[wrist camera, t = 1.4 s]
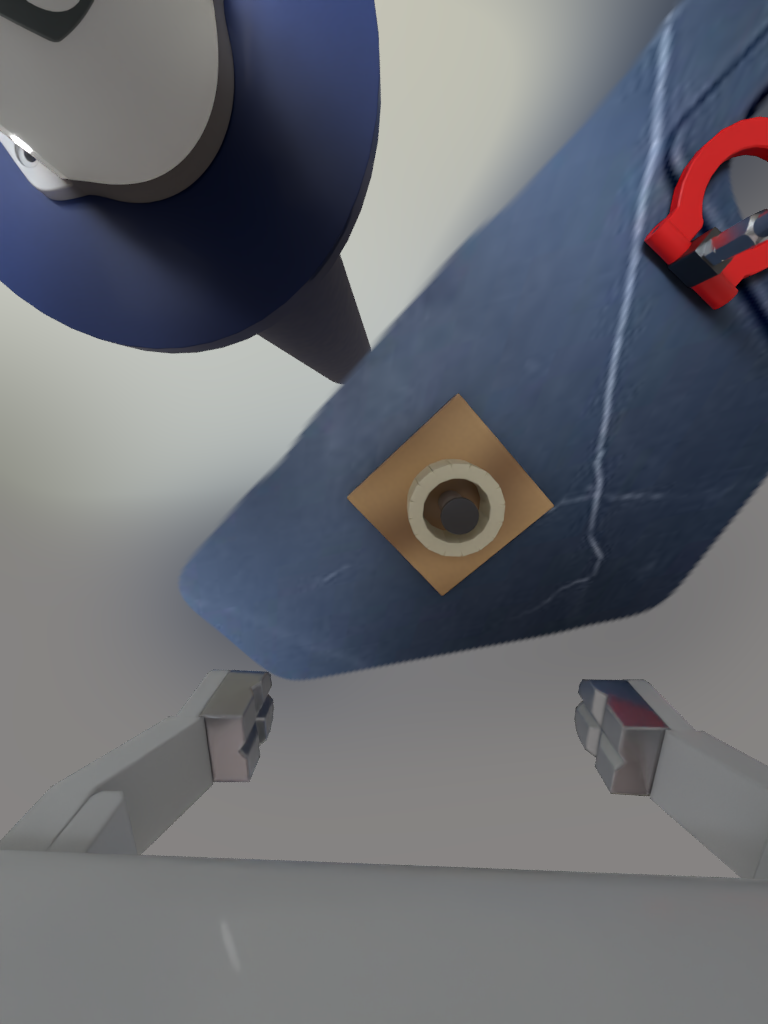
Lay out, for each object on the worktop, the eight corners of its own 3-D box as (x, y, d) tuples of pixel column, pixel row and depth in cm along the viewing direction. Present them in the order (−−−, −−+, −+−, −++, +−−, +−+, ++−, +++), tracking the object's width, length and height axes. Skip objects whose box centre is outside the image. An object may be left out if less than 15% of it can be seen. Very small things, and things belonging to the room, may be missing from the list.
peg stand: (347, 495, 28) (337, 512, 23) (456, 393, 26) (471, 387, 21) (440, 591, 30) (450, 626, 25) (549, 503, 28) (584, 521, 23)
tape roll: (389, 499, 27) (388, 509, 24) (454, 440, 26) (462, 442, 23) (445, 558, 28) (451, 574, 25) (510, 504, 27) (524, 514, 24)
